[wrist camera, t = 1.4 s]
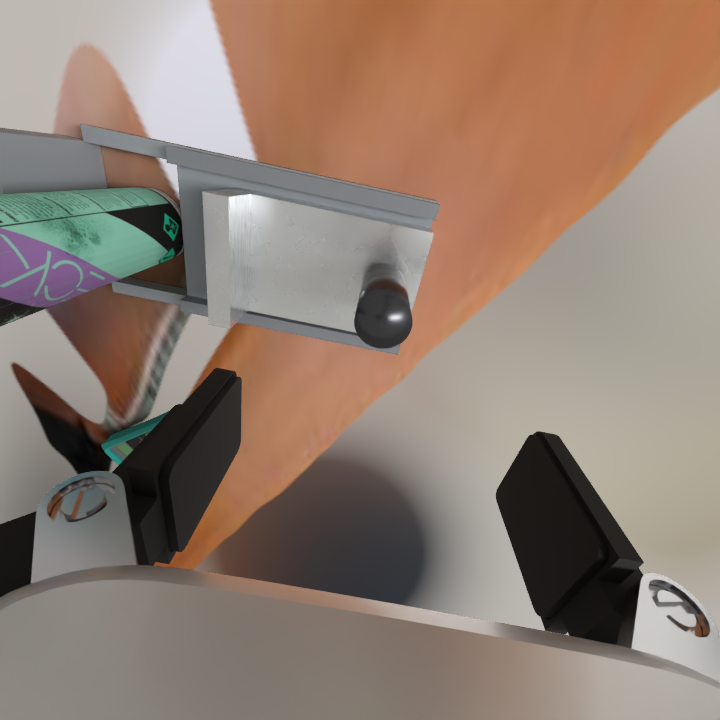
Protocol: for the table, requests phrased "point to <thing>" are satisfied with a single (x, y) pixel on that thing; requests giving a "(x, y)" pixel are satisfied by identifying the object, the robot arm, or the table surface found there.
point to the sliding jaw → (311, 264)
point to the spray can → (80, 243)
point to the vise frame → (196, 203)
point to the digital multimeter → (128, 439)
